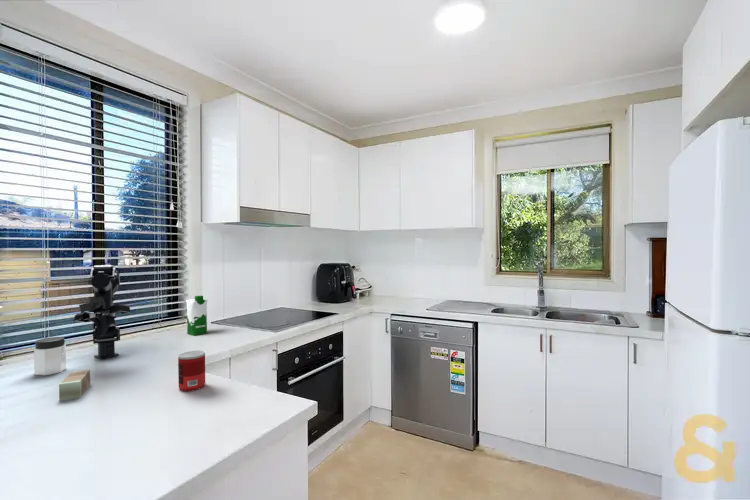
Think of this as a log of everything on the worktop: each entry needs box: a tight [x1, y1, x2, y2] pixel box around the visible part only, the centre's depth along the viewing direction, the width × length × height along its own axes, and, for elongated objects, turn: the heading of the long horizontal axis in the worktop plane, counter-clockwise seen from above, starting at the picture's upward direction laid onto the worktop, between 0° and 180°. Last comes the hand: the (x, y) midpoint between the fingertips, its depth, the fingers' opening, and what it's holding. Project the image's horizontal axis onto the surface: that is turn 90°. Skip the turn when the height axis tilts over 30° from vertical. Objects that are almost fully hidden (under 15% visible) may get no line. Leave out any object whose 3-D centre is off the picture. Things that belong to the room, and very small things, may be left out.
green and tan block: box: [58, 369, 91, 402], centre depth 118 cm, size 5×5×12 cm
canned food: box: [177, 350, 206, 392], centre depth 122 cm, size 8×8×11 cm
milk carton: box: [185, 295, 208, 336], centre depth 196 cm, size 9×9×20 cm
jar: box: [33, 336, 67, 376], centre depth 137 cm, size 9×8×12 cm
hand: (102, 335), depth 141 cm, fingers closed
